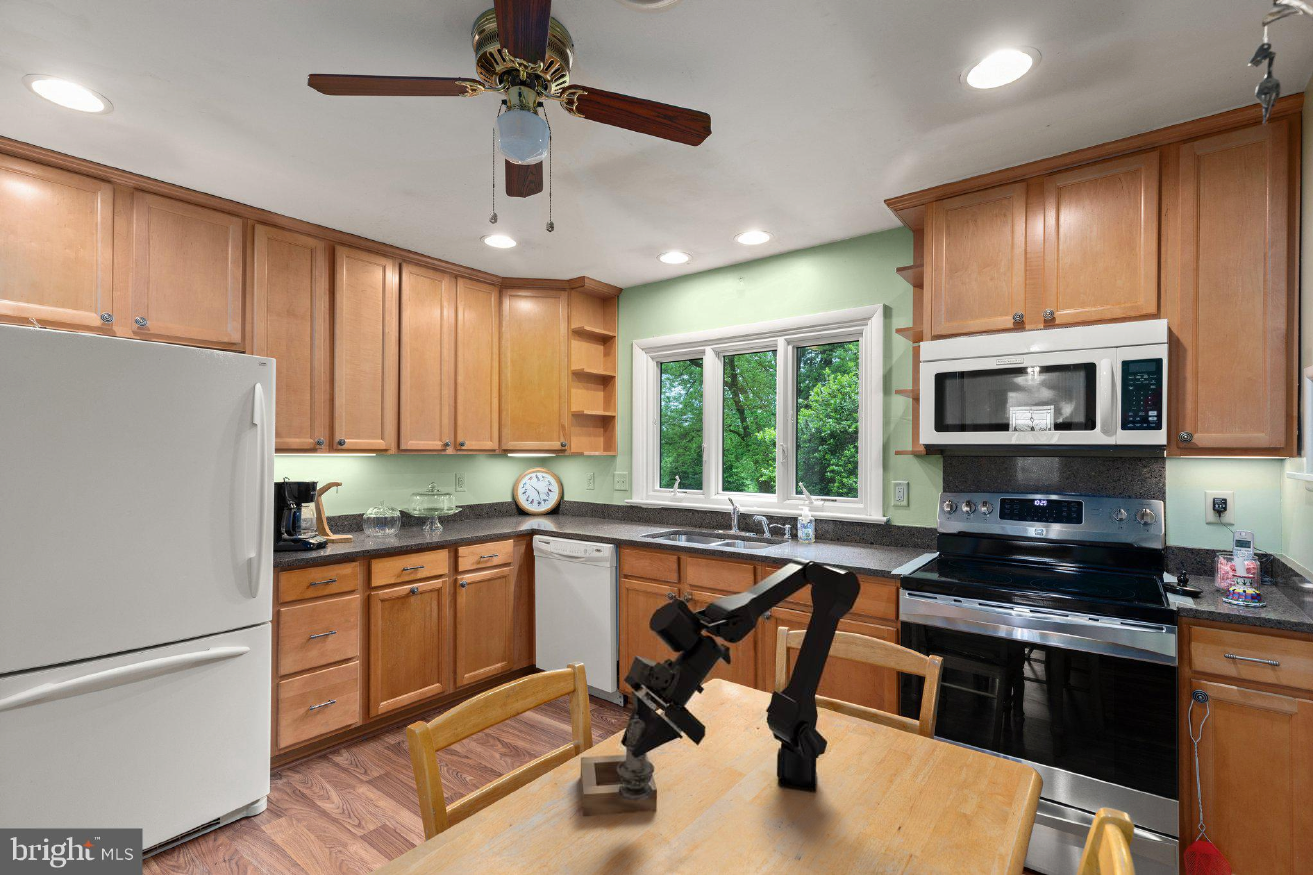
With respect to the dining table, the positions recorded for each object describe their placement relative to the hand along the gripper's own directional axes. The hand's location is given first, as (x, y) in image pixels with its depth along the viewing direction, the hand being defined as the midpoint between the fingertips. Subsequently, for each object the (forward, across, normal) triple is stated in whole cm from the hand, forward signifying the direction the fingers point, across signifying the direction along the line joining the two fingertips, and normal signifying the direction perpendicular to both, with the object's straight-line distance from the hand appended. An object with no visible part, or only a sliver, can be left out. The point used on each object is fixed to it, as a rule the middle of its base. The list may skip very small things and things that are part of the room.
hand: (628, 750), depth 98 cm
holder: (+7, -10, +11) cm, 17 cm away
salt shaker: (+4, 0, +6) cm, 7 cm away
